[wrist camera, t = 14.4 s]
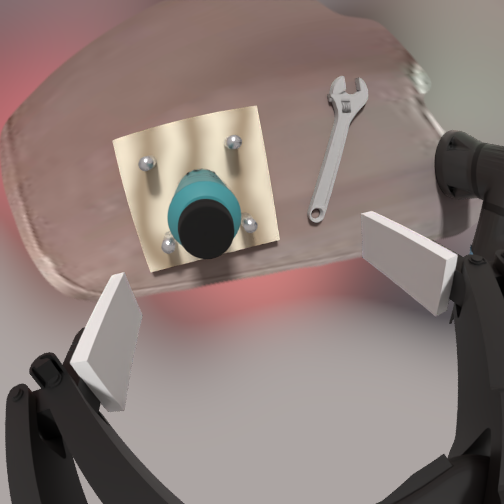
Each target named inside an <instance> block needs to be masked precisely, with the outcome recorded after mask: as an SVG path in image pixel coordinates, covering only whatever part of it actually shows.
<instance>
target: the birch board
mask: <svg viewBox="0 0 504 504" xmlns="http://www.w3.org/2000/svg"><path fill="white" fill-rule="evenodd" d="M231 135H238V136H239V137H240V138H241V139H242V145H241V146H240V147H239V148H238V149H228V148H226V147H225V146H224V139H225V138H226V137H228V136H231ZM113 145H114V149H115V154H116V158H117V162H118V166H119V170H120V174H121V178H122V182H123V186H124V190H125V193H126V197H127V201H128V204H129V207H130V211H131V214H132V218H133V221H134V224H135V227H136V231H137V234H138V237H139V240H140V243H141V246H142V249H143V252H144V255H145V258H146V261H147V263H148V266H149V269H150V272H154V271H158V270H162V269H166V268H170V267H174V266H178V265H182V264H186V263H189V262H193V261H197V260H201V259H200V258H197V257H194V256H192V255H191V254H189V253H188V252H187V251H186V250H185V249H184V247H183V246H182V245H180V244H179V243H178V242H177V241H176V245H175V250H174V252H172V253H170V254H167V253H164V252H163V251H162V248H161V246H162V242H163V238H164V235H165V233H166V232H168V231H170V229H169V226H168V220H167V215H168V209H169V205H170V203H171V201H172V198H173V196H174V193H175V191H176V189H177V187H178V185H179V183H180V181H181V179H182V178H183V177H184V176H185V175H186V174H187V173H188V172H191V171H192V170H197V169H201V168H204V169H205V170H206V169H208V170H210V171H213V172H215V173H216V175H217V176H218V177H219V178H220V177H221V178H222V179H221V178H220V179H221V180H222V182H223V183H224V184H225V183H226V186H227V185H228V186H227V188H228V189H229V190H230V191H231V190H232V191H231V192H232V193H233V192H234V193H233V194H234V195H235V197H236V198H237V200H238V202H239V205H240V208H241V214H242V213H244V212H247V213H249V214H250V215H251V216H252V217H253V219H254V220H255V221H256V222H257V224H258V228H257V230H256V231H255V232H253V233H248V232H246V231H245V229H244V228H243V226H242V224H240V228H239V230H238V233H237V234H236V236H235V237H234V239H233V241H232V244H231V246H230V247H229V249H228V250H227V251H226V252H224V253H223V254H225V253H229V252H233V251H237V250H241V249H245V248H249V247H253V246H257V245H261V244H265V243H269V242H273V241H277V240H280V239H279V232H278V226H277V219H276V213H275V207H274V201H273V194H272V188H271V182H270V176H269V171H268V165H267V159H266V153H265V148H264V142H263V137H262V131H261V126H260V120H259V115H258V110H257V106H251V107H244V108H238V109H232V110H226V111H221V112H216V113H211V114H206V115H201V116H197V117H192V118H188V119H184V120H180V121H176V122H172V123H168V124H164V125H160V126H157V127H153V128H150V129H146V130H143V131H140V132H137V133H133V134H130V135H127V136H124V137H121V138H118V139H115V140H113ZM149 155H152V156H154V157H155V158H156V159H157V164H156V166H155V167H154V168H152V169H150V170H148V171H142V170H141V169H140V168H139V166H138V163H139V160H140V159H141V158H142V157H145V156H149ZM179 180H180V181H179ZM178 182H179V183H178ZM176 186H177V187H176ZM229 187H230V188H229Z"/></svg>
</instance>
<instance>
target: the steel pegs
mask: <svg viewBox="0 0 504 504" xmlns="http://www.w3.org/2000/svg"><path fill="white" fill-rule="evenodd" d="M241 145H242V139H241V138H240V137H239V136H238V135H231V136H228V137H226V138H225V139H224V146H225V147H226V148H228V149H238V148H239V147H240V146H241ZM156 164H157V159H156V158H155V157H154V156H152V155H149V156H145V157H142V158H141V159H140V160H139V163H138V166H139V168H140V169H141V170H142V171H148V170H150V169H152V168H154V167H155V166H156ZM241 224H242V226H243V228H244V229H245V231H246V232H248V233H253V232H255V231H256V230H257V228H258V224H257V222H256V221H255V220H254V219H253V217H252V216H251V215H250V214H249V213H247V212H244V213H242V214H241ZM175 245H176V240H175V239H174V237H173V236H172V234H171V232H170V231H168V232H166V233H165V235H164V238H163V242H162V246H161V248H162V251H163V252H164V253H167V254H170V253H172V252H174V250H175Z"/></svg>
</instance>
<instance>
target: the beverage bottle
mask: <svg viewBox="0 0 504 504" xmlns="http://www.w3.org/2000/svg"><path fill="white" fill-rule="evenodd" d="M220 178H221V177H220ZM220 178H219V177H218V176H217V175H216V173H215V172H213V171H210V170H208V169H206V170H205V169H204V168H201V169H197V170H192V171H191V172H188V173H187V174H186V175H185V176H184V177H183V178H182V179H181V181H180V180H179V181H180V183H179V182H178V183H179V185H178V187H177V186H176V187H177V189H176V191H175V193H174V196H173V198H172V201H171V203H170V205H169V209H168V215H167V220H168V226H169V229H170V232H171V234H172V236H173V237H174V239H175V240H176V241H177V242H178V243H179V244H180V245H182V246H183V247H184V249H185V250H186V251H187V252H188V253H189V254H191V255H192V256H194V257H197V258H200V259H212V258H216V257H218V256H220V255H222V254H223V253H224V252H226V251H227V250H228V249H229V247H230V246H231V244H232V241H233V239H234V237H235V236H236V234H237V233H238V230H239V228H240V224H241V208H240V205H239V202H238V200H237V198H236V197H235V195H234V194H233V193H234V192H233V193H232V192H231V191H232V190H231V191H230V190H229V189H228V188H227V186H228V185H227V186H226V183H225V184H224V183H223V182H222V180H221V179H222V178H221V179H220ZM229 188H230V187H229Z"/></svg>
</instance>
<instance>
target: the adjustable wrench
mask: <svg viewBox="0 0 504 504" xmlns="http://www.w3.org/2000/svg"><path fill="white" fill-rule="evenodd" d="M355 83H356V89H357V92H355V93H354V94H352V95H351V94H347V93H346V92H345V91H344V90H346V85H345V78H344V76H340V77H338V78H336V79H335V80H334V82H333V83H332V85H331V88H330V93H329V94H328V95H327V97H328V101H329V102H332V105H333V108H334V111H335V120H334V125H333V128H332V132H331V135H330V139H329V142H328V146H327V149H326V153H325V156H324V160H323V163H322V166H321V170H320V173H319V176H318V180H317V183H316V186H315V189H314V193H313V196H312V199H311V202H310V205H309V209H308V212H307V215H308V218H309V219H310V220H311V221H313V222H320V221H322V219H323V218H324V216H325V212H326V209H327V206H328V202H329V199H330V196H331V192H332V189H333V185H334V182H335V178H336V174H337V171H338V167H339V164H340V160H341V156H342V152H343V148H344V145H345V141H346V137H347V133H348V129H349V125H350V122H351V121H352V119H353V117H354V116H355V115H356V113H357V112H358V111H359V110H360V109H361V108H362V107H363V106H364V105H365V103H366V102H367V99H368V89H367V86H366V84H365V82H364V81H363V80H362V79H361V78H355ZM342 112H347V113H342ZM315 208H317V209H319V210H320V215H319V216H318V217H317V218H312V216H311V212H312V211H313V209H315Z"/></svg>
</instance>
